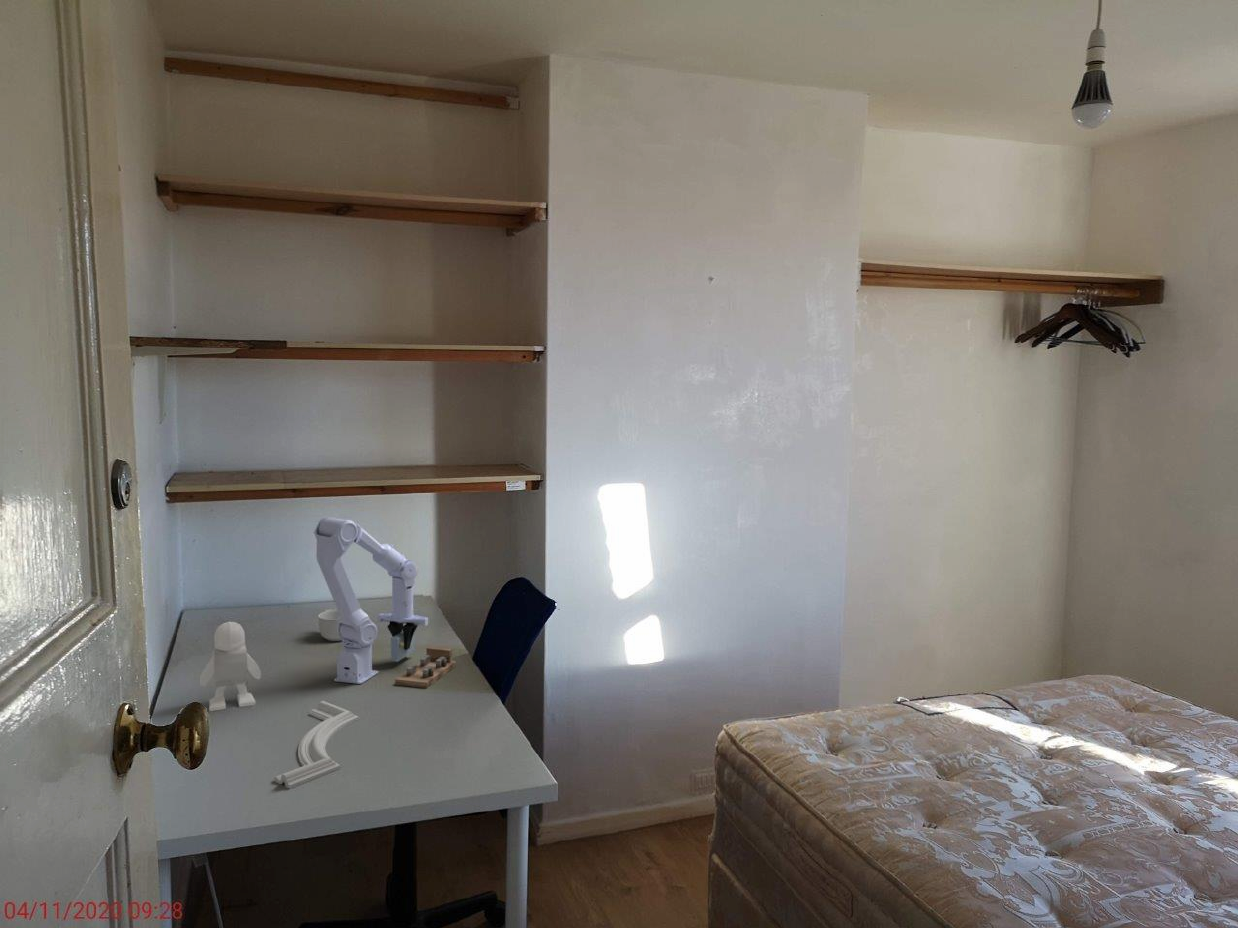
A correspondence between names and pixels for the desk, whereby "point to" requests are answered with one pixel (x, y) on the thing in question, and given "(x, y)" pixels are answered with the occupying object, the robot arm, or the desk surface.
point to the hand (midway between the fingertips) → (403, 648)
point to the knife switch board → (428, 668)
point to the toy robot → (230, 666)
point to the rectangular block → (400, 647)
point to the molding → (317, 746)
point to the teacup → (329, 624)
